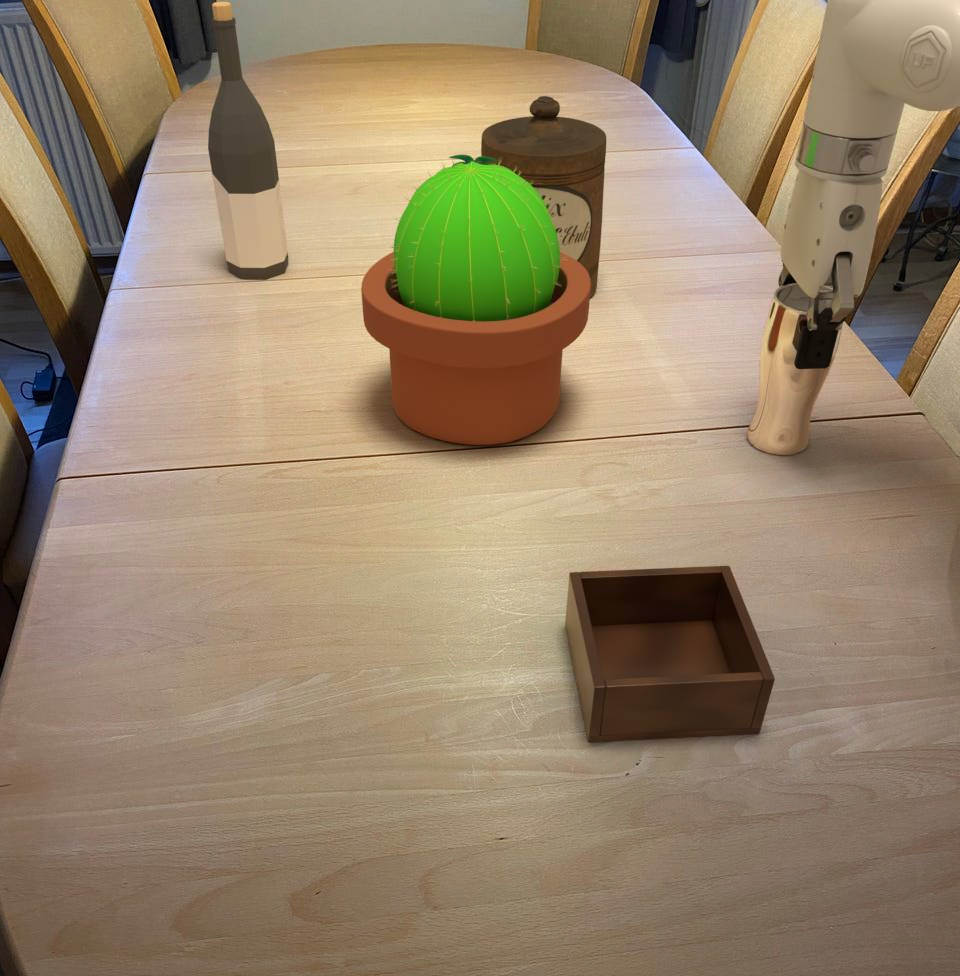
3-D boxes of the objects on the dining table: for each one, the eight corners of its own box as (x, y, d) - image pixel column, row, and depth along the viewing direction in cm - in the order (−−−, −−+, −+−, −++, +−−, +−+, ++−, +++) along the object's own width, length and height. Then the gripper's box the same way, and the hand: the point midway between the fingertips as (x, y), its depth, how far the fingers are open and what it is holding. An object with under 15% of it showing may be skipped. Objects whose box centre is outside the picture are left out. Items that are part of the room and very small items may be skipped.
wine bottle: (296, 275, 133) (265, 8, 113) (234, 284, 131) (191, 14, 111) (281, 251, 139) (249, -7, 118) (222, 260, 136) (178, -2, 116)
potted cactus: (531, 481, 98) (544, 216, 81) (333, 429, 105) (307, 175, 88) (608, 380, 113) (632, 137, 96) (430, 340, 120) (424, 107, 103)
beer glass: (794, 466, 101) (830, 321, 90) (730, 442, 104) (758, 300, 93) (823, 436, 105) (861, 294, 94) (760, 414, 108) (790, 275, 98)
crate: (717, 618, 84) (729, 565, 80) (760, 733, 75) (775, 678, 71) (564, 625, 83) (569, 571, 79) (588, 742, 74) (594, 687, 70)
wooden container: (467, 304, 127) (467, 111, 112) (495, 257, 137) (497, 75, 123) (586, 317, 124) (601, 122, 109) (604, 268, 135) (621, 84, 120)
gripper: (929, 184, 79) (869, 392, 91) (853, 116, 92) (808, 306, 104) (834, 186, 79) (786, 394, 91) (770, 118, 91) (736, 308, 103)
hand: (798, 346), depth 97 cm, fingers closed on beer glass, 7 cm apart
